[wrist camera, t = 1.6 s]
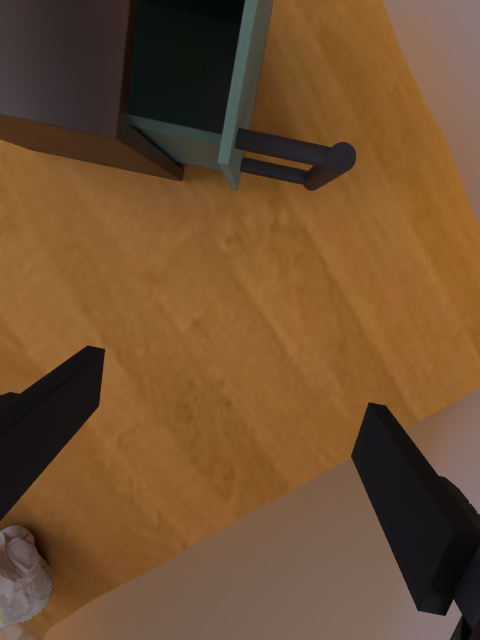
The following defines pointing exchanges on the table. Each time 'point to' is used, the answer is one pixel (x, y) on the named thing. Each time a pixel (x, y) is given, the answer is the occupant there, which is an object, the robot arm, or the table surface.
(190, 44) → the green drawer
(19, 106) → the box
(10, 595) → the fossil replica
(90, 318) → the table surface
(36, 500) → the table surface
